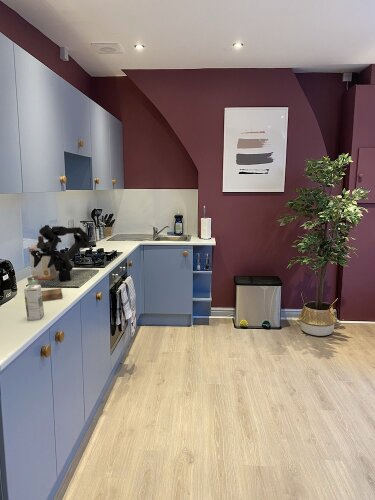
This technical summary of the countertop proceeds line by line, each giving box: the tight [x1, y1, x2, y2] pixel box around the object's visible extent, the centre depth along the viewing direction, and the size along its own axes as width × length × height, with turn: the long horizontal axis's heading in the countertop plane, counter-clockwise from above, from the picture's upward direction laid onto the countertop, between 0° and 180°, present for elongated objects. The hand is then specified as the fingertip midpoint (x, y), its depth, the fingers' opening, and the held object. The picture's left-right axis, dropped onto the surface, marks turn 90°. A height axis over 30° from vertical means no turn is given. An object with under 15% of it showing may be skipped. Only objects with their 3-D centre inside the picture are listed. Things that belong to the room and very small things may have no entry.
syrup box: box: [23, 284, 45, 321], centre depth 168 cm, size 6×6×14 cm
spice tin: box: [27, 276, 39, 286], centre depth 206 cm, size 5×5×9 cm
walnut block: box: [41, 287, 63, 303], centre depth 198 cm, size 10×10×3 cm
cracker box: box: [28, 245, 57, 281], centre depth 237 cm, size 14×6×21 cm, turn 71°
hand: (41, 267), depth 212 cm, fingers open, 9 cm apart
